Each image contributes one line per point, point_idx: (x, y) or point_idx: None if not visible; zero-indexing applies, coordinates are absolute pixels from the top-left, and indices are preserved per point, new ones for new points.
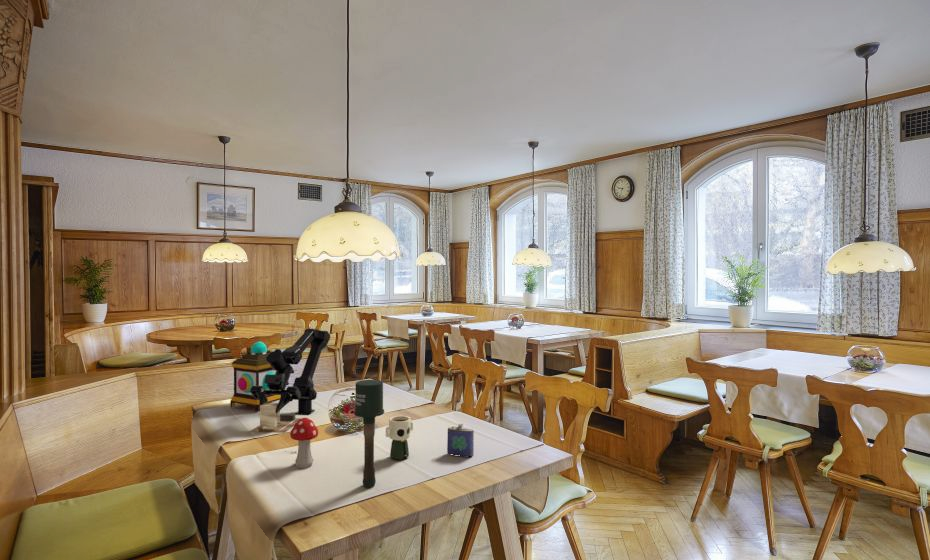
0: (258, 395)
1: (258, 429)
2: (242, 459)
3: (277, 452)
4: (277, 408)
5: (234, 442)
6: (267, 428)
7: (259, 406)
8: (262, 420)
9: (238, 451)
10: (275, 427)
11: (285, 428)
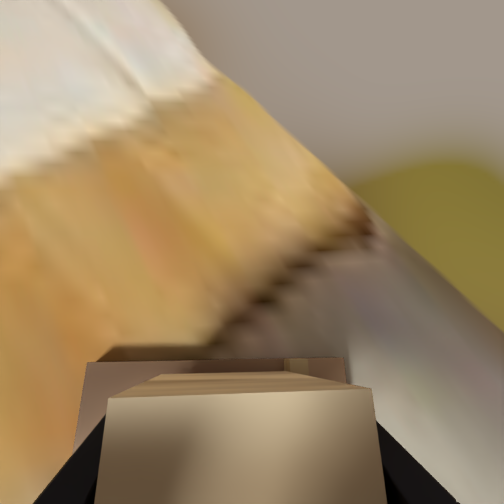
0: None
1: (287, 362)
2: (181, 59)
3: (52, 116)
4: (96, 434)
5: (332, 231)
6: None
7: (395, 440)
8: (276, 374)
9: (244, 130)
10: None
11: None
